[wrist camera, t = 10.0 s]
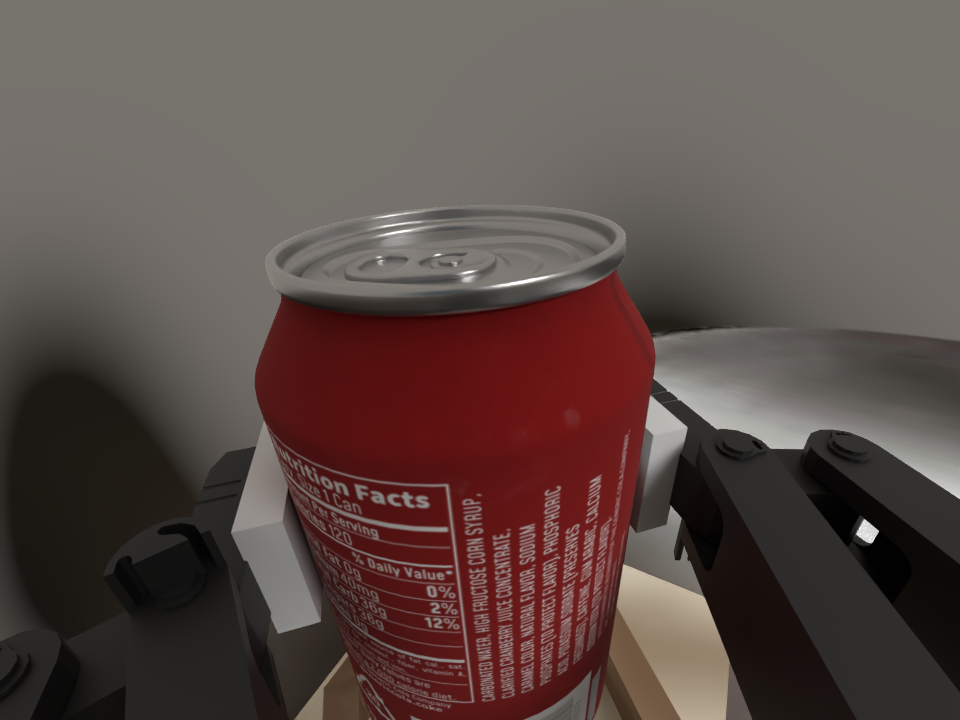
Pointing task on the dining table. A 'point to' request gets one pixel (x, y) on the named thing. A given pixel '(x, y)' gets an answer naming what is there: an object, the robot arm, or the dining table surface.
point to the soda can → (462, 449)
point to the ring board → (661, 645)
